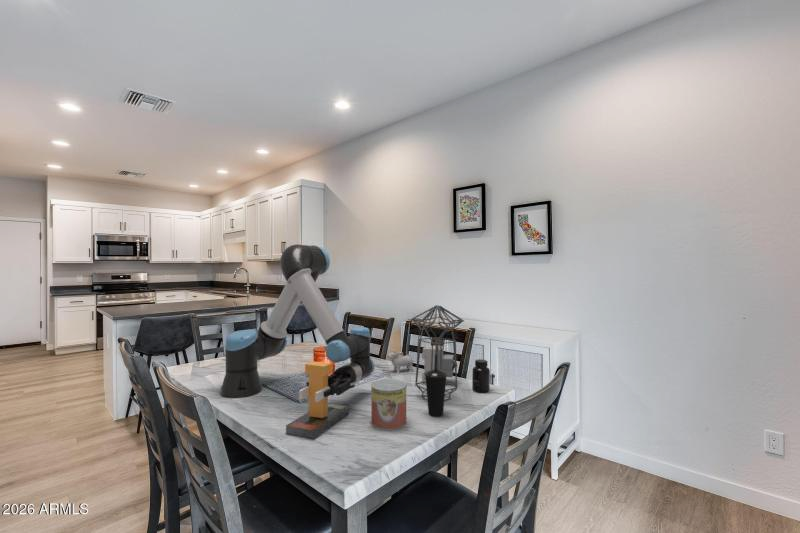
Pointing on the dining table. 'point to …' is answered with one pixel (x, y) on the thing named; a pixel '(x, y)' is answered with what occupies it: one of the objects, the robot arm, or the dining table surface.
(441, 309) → the geometric lantern
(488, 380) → the supplement bottle
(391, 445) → the dining table surface
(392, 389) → the canned food
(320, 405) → the handle
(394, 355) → the dog figurine
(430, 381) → the drinking cup
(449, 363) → the circuit breaker
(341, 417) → the switch plate
